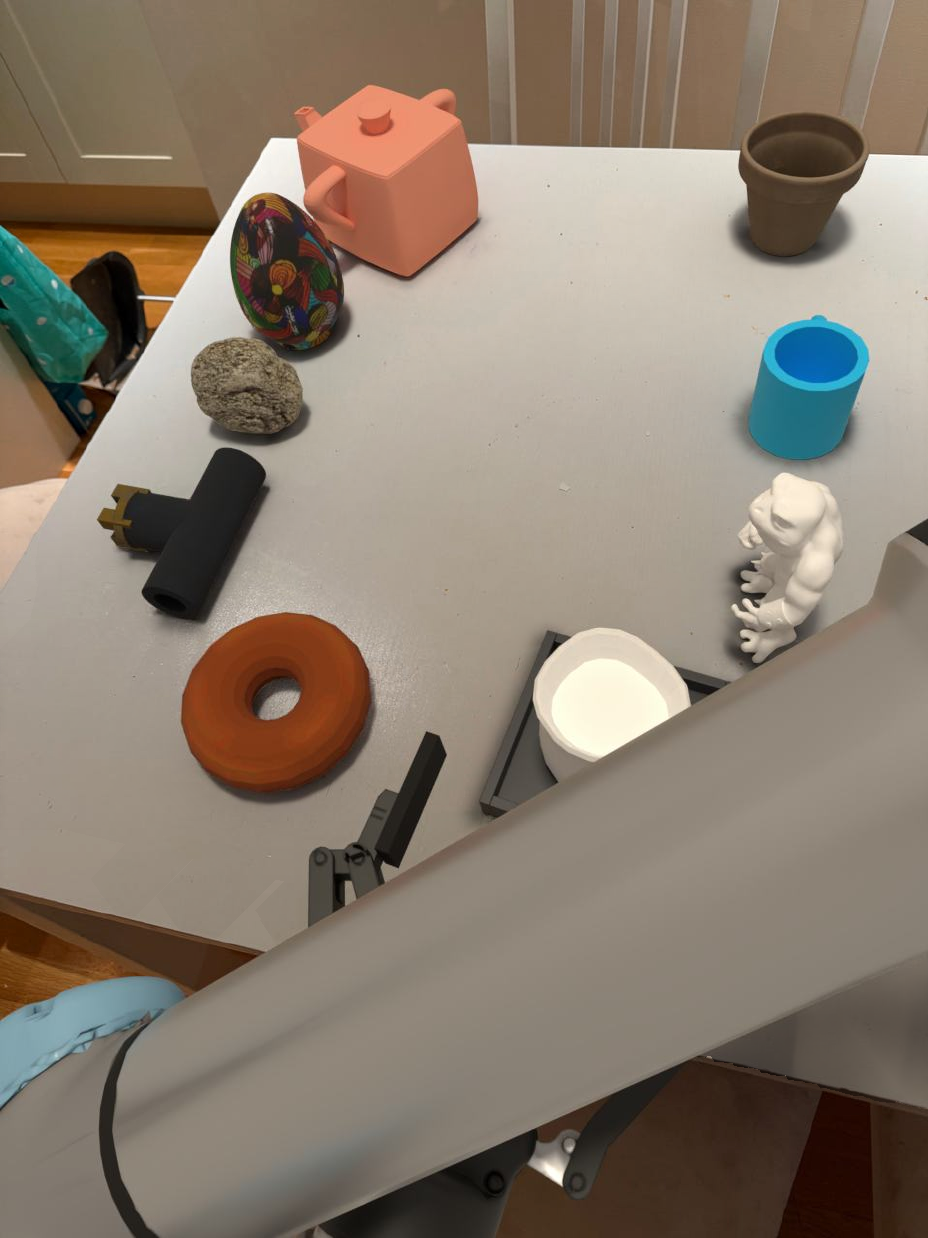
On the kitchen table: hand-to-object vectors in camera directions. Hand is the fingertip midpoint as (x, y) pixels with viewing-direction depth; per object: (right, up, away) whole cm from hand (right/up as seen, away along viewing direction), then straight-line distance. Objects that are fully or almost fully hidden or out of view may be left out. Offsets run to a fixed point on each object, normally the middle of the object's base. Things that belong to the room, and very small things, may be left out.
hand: (559, 783), depth 45 cm
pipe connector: (-30, +15, +36) cm, 49 cm away
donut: (-19, +1, +26) cm, 32 cm away
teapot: (-14, +53, +56) cm, 78 cm away
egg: (-22, +39, +48) cm, 66 cm away
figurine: (+19, +8, +25) cm, 32 cm away
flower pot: (+28, +48, +46) cm, 72 cm away
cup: (+6, -1, +20) cm, 21 cm away
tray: (+6, -2, +20) cm, 21 cm away
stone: (-25, +27, +42) cm, 56 cm away
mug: (+25, +27, +35) cm, 51 cm away
